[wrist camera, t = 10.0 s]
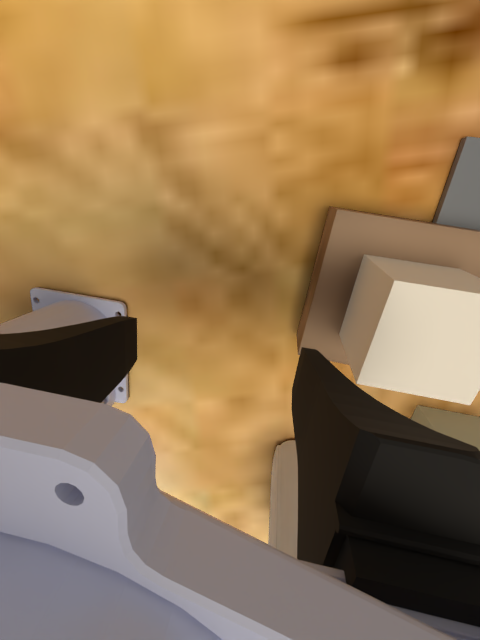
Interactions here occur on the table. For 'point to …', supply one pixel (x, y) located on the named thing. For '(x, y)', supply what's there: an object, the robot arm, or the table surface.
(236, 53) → the table surface
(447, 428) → the sage cube
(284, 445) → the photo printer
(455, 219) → the card
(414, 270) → the cream cube
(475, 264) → the walnut base
